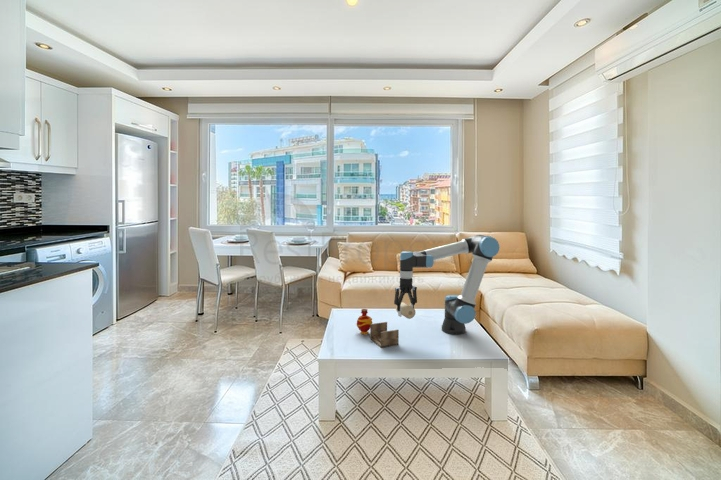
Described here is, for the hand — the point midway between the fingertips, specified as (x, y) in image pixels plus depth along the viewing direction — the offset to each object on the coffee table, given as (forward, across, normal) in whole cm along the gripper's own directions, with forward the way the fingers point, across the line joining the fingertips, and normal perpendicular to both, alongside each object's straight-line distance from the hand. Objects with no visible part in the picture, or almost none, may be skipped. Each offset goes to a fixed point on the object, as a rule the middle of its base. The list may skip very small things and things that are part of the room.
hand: (405, 315), depth 207 cm
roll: (0, 0, 0) cm, 0 cm away
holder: (+15, +13, -3) cm, 20 cm away
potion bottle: (+16, +18, -21) cm, 31 cm away
